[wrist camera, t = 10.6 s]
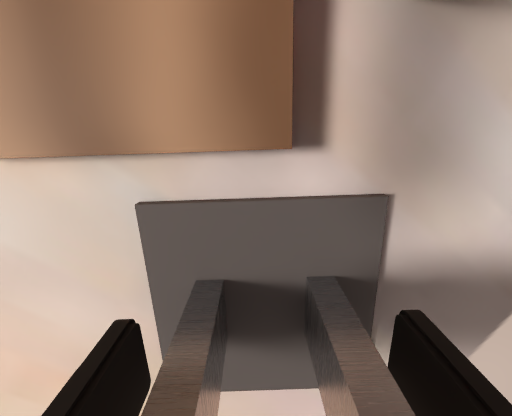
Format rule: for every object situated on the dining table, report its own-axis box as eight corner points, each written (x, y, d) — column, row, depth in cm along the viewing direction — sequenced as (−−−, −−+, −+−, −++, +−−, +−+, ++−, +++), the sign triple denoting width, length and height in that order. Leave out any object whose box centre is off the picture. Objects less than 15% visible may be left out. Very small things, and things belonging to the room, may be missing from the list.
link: (334, 275, 10) (480, 526, 4) (329, 332, 11) (442, 619, 5) (195, 280, 10) (91, 539, 4) (202, 336, 11) (126, 630, 5)
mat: (383, 194, 10) (388, 196, 9) (360, 379, 13) (364, 386, 12) (139, 202, 10) (134, 204, 9) (171, 385, 13) (168, 393, 12)
